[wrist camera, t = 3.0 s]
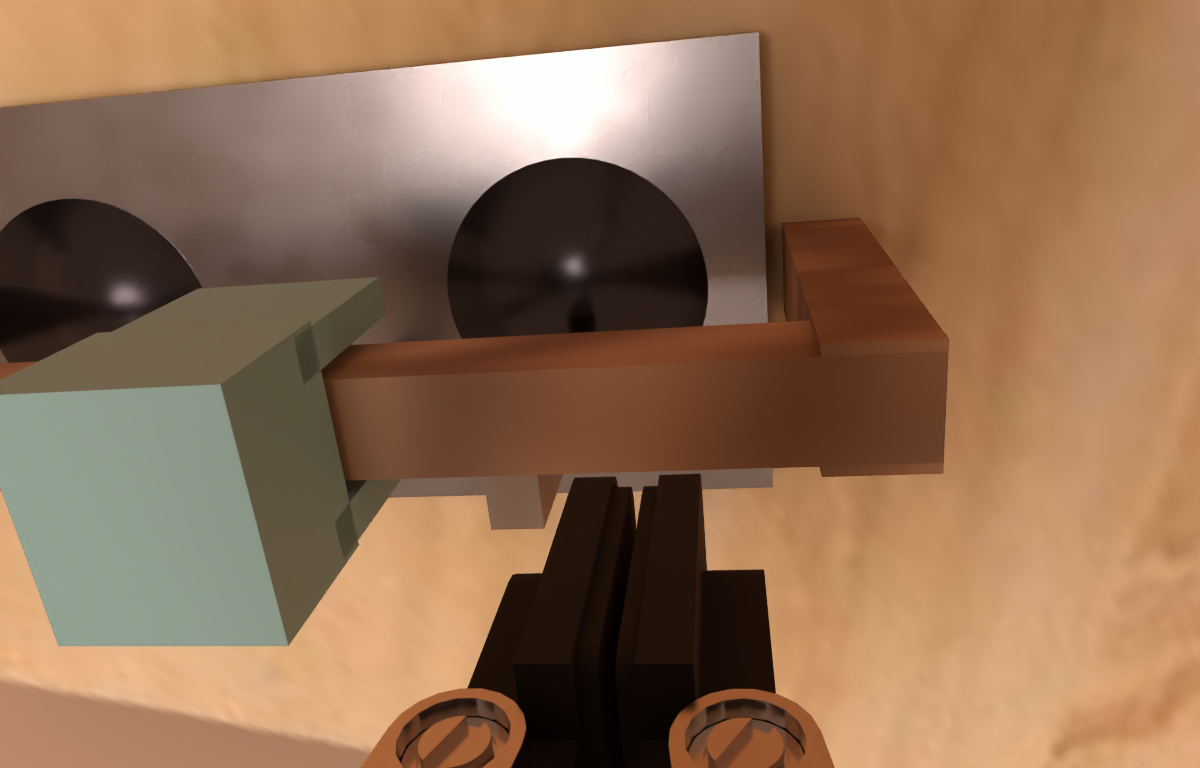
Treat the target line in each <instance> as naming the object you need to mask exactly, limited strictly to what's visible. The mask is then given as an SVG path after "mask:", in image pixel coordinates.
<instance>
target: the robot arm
mask: <svg viewBox="0 0 1200 768" xmlns="http://www.w3.org/2000/svg"><path fill="white" fill-rule="evenodd" d="M361 768H835V767H834V765H833V762H832V759H831V757H830V754H829V751H828V749H827V746H826V743H825V741H824V738H823V735H822V733H821V730H820V729H819V727H818V726H817V724H816V722H815V721H814V719H813V717H812V716H811V715H810V714H809V713H808V712H806V711H805V710H804V709H803V708H802V707H800V706H799V705H798V704H797V703H795V702H793V701H791V700H789V699H787V698H785V697H782V696H780V695H778V694H776V691H775V680H774V670H773V659H772V649H771V638H770V628H769V617H768V606H767V596H766V585H765V575H764V570H712V571H707V564H706V547H705V531H704V514H703V497H702V482H701V474H670V475H659V480H658V486H644V487H643V492H642V498H641V504H640V510H639V516H638V523H637V529H636V519H635V508H634V497H633V490H632V487H618V483H617V479H616V477H615V476H608V477H577V478H574V480H573V482H572V485H571V488H570V491H569V494H568V497H567V500H566V503H565V506H564V509H563V512H562V515H561V518H560V521H559V524H558V527H557V530H556V534H555V537H554V540H553V543H552V546H551V549H550V552H549V555H548V558H547V561H546V564H545V567H544V570H543V573H535V574H514V575H512V577H511V579H510V580H509V582H508V585H507V588H506V590H505V593H504V595H503V598H502V600H501V603H500V606H499V608H498V611H497V613H496V616H495V619H494V621H493V624H492V626H491V629H490V631H489V634H488V637H487V639H486V642H485V644H484V647H483V650H482V652H481V655H480V657H479V660H478V662H477V665H476V668H475V670H474V673H473V675H472V678H471V681H470V683H469V686H468V688H467V689H456V690H451V691H447V692H442V693H438V694H436V695H433V696H431V697H428V698H426V699H424V700H421V701H419V702H417V703H416V704H414V705H413V706H412V707H410V708H409V709H407V710H406V711H404V712H403V713H401V714H400V715H399V717H398V718H397V719H396V720H395V721H394V722H393V723H392V724H391V725H390V726H389V727H388V729H387V730H386V732H385V733H384V735H383V736H382V737H381V739H380V740H379V742H378V743H377V745H376V746H375V748H374V749H373V751H372V752H371V753H370V755H369V756H368V758H367V759H366V761H365V762H364V764H363V765H362V766H361Z"/></svg>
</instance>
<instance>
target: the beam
mask: <svg viewBox="0 0 1200 768" xmlns="http://www.w3.org/2000/svg"><path fill="white" fill-rule="evenodd" d="M782 239H783V281H784V312H785V316H786V321H787V322H772V323H753V324H734V325H715V326H696V327H678V328H659V329H640V330H621V331H602V332H584V333H565V334H546V335H527V336H508V337H490V338H471V339H452V340H433V341H414V342H396V343H377V344H358V345H350V346H348V347H347V348H346V349H345V350H344V351H343V352H341V353H340V354H339V355H338V356H337V357H336V358H334V359H333V360H332V361H331V362H330V363H329V364H327V365H326V366H325V367H324V368H323V369H322V370H321V372H322V377H323V382H324V386H325V391H326V396H327V400H328V405H329V409H330V414H331V419H332V423H333V428H334V433H335V437H336V442H337V446H338V451H339V456H340V460H341V465H342V470H343V474H344V479H345V481H351V480H385V479H418V478H452V477H483V478H484V485H485V491H486V498H487V504H488V510H489V517H490V523H491V530H495V529H543V528H545V525H546V522H547V519H548V516H549V513H550V511H551V508H552V505H553V502H554V499H555V496H556V493H557V491H558V488H559V485H560V482H561V479H562V476H563V474H586V473H620V472H653V471H687V470H720V469H754V468H787V467H820V471H821V475H822V477H836V476H872V475H907V474H943V463H944V440H945V417H946V394H947V371H948V348H949V338H948V337H947V336H946V334H945V333H944V332H943V330H942V329H941V328H940V326H939V325H938V323H937V322H936V321H935V319H934V318H933V317H932V315H931V314H930V313H929V311H928V310H927V309H926V307H925V306H924V304H923V303H922V302H921V300H920V299H919V298H918V296H917V295H916V294H915V292H914V291H913V290H912V288H911V287H910V285H909V284H908V283H907V281H906V280H905V279H904V277H903V276H902V275H901V273H900V272H899V271H898V269H897V268H896V266H895V265H894V264H893V262H892V261H891V260H890V258H889V257H888V256H887V254H886V253H885V251H884V250H883V249H882V247H881V246H880V245H879V243H878V242H877V241H876V239H875V238H874V237H873V235H872V234H871V232H870V231H869V230H868V228H867V227H866V226H865V224H864V223H863V222H862V220H861V219H860V218H854V219H840V220H825V221H811V222H796V223H782ZM34 363H36V362H20V363H1V364H0V380H1V379H3V378H6V377H8V376H10V375H12V374H14V373H16V372H18V371H20V370H22V369H24V368H26V367H28V366H30V365H32V364H34ZM0 491H1V488H0Z"/></svg>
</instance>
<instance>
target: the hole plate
mask: <svg viewBox="0 0 1200 768" xmlns="http://www.w3.org/2000/svg"><path fill="white" fill-rule="evenodd" d="M371 277H379V281H380V286H381V292H382V297H383V302H384V308H385V313H386V315H385V316H384V317H382V318H381V319H380V320H379V321H378V322H376V323H375V324H374V325H373V326H372V327H371V328H369V329H368V330H367V331H366V332H365V333H364V334H362V335H361V336H360V337H359V338H358V339H357V340H355V341H354V342H353V343H352V344H351V345H358V344H377V343H396V342H414V341H433V340H452V339H471V338H490V337H508V336H527V335H546V334H565V333H584V332H602V331H621V330H640V329H659V328H678V327H696V326H715V325H734V324H753V323H768V315H767V282H766V249H765V216H764V184H763V151H762V118H761V86H760V53H759V32H751V33H741V34H731V35H721V36H711V37H702V38H692V39H682V40H672V41H662V42H652V43H642V44H632V45H622V46H612V47H602V48H592V49H582V50H572V51H562V52H552V53H542V54H532V55H522V56H512V57H502V58H492V59H482V60H472V61H462V62H452V63H442V64H432V65H422V66H412V67H402V68H392V69H382V70H372V71H362V72H352V73H342V74H332V75H322V76H312V77H302V78H292V79H282V80H272V81H262V82H252V83H242V84H232V85H222V86H212V87H202V88H192V89H182V90H172V91H162V92H152V93H142V94H132V95H122V96H112V97H103V98H93V99H83V100H73V101H63V102H53V103H43V104H33V105H23V106H13V107H3V108H0V364H1V363H20V362H38V361H40V360H42V359H44V358H46V357H49V356H51V355H53V354H55V353H57V352H59V351H61V350H63V349H65V348H67V347H69V346H71V345H73V344H75V343H77V342H79V341H81V340H83V339H85V338H87V337H89V336H92V335H94V334H96V333H101V332H112V331H114V330H116V329H118V328H120V327H122V326H124V325H126V324H128V323H130V322H132V321H134V320H136V319H138V318H140V317H142V316H144V315H146V314H148V313H150V312H152V311H154V310H156V309H158V308H160V307H162V306H164V305H166V304H168V303H170V302H172V301H174V300H176V299H178V298H180V297H182V296H184V295H186V294H188V293H190V292H192V291H194V290H196V289H201V288H217V287H232V286H248V285H263V284H279V283H294V282H310V281H325V280H340V279H356V278H371ZM670 474H701V482H702V489H726V488H763V487H773V478H772V468H754V469H720V470H687V471H653V472H620V473H586V474H563V476H562V479H561V482H560V485H559V488H558V491H557V493H569V491H570V488H571V485H572V482H573V480H574V478H577V477H608V476H615V477H616V479H617V483H618V487H632V490H633V491H643V487H644V486H658V480H659V475H670ZM464 495H486V491H485V485H484V478H483V477H452V478H418V479H401V480H400V482H399V483H398V484H397V486H396V487H395V489H394V490H393V492H392V493H391V494H390V496H389V497H426V496H464ZM389 497H388V498H389Z"/></svg>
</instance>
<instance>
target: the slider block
mask: <svg viewBox="0 0 1200 768" xmlns="http://www.w3.org/2000/svg"><path fill="white" fill-rule="evenodd" d="M385 315H386V313H385V308H384V302H383V297H382V292H381V286H380V281H379V277H371V278H356V279H340V280H325V281H310V282H294V283H279V284H263V285H248V286H232V287H217V288H201V289H196V290H194V291H192V292H190V293H188V294H186V295H184V296H182V297H180V298H178V299H176V300H174V301H172V302H170V303H168V304H166V305H164V306H162V307H160V308H158V309H156V310H154V311H152V312H150V313H148V314H146V315H144V316H142V317H140V318H138V319H136V320H134V321H132V322H130V323H128V324H126V325H124V326H122V327H120V328H118V329H116V330H114V331H112V332H101V333H96V334H94V335H92V336H89V337H87V338H85V339H83V340H81V341H79V342H77V343H75V344H73V345H71V346H69V347H67V348H65V349H63V350H61V351H59V352H57V353H55V354H53V355H51V356H49V357H46V358H44V359H42V360H40V361H38V362H36V363H34V364H32V365H30V366H28V367H26V368H24V369H22V370H20V371H18V372H16V373H14V374H12V375H10V376H8V377H6V378H3V379H1V380H0V488H1V491H2V494H3V496H4V499H5V502H6V504H7V507H8V510H9V513H10V515H11V518H12V521H13V523H14V526H15V529H16V532H17V534H18V537H19V540H20V543H21V545H22V548H23V551H24V553H25V556H26V559H27V562H28V564H29V567H30V570H31V572H32V575H33V578H34V581H35V583H36V586H37V589H38V592H39V594H40V597H41V600H42V602H43V605H44V608H45V611H46V613H47V616H48V619H49V621H50V624H51V627H52V630H53V632H54V635H55V638H56V641H57V643H58V646H289V644H290V643H291V641H292V640H293V639H294V637H295V636H296V634H297V633H298V631H299V630H300V629H301V627H302V626H303V624H304V623H305V621H306V620H307V619H308V617H309V616H310V614H311V613H312V611H313V610H314V609H315V607H316V606H317V604H318V603H319V601H320V600H321V599H322V597H323V596H324V594H325V593H326V591H327V590H328V589H329V587H330V586H331V584H332V583H333V581H334V580H335V579H336V577H337V576H338V574H339V573H340V571H341V570H342V569H343V567H344V566H345V564H346V563H347V561H348V560H349V559H350V557H351V556H352V554H353V553H354V551H355V550H356V549H357V547H358V546H359V543H358V540H359V538H360V537H361V535H362V534H363V533H364V531H365V530H366V528H367V527H368V525H369V524H370V523H371V521H372V520H373V518H374V517H375V516H376V514H377V513H378V511H379V510H380V509H381V507H382V506H383V504H384V503H385V501H386V500H387V499H388V497H389V496H390V494H391V493H392V492H393V490H394V489H395V487H396V486H397V484H398V483H399V482H400V480H401V479H385V480H351V481H345V479H344V474H343V470H342V465H341V460H340V456H339V451H338V446H337V442H336V437H335V433H334V428H333V423H332V419H331V414H330V409H329V405H328V400H327V396H326V391H325V386H324V382H323V377H322V372H321V370H322V369H323V368H324V367H325V366H326V365H327V364H329V363H330V362H331V361H332V360H333V359H334V358H336V357H337V356H338V355H339V354H340V353H341V352H343V351H344V350H345V349H346V348H347V347H348V346H350V345H351V344H352V343H353V342H354V341H355V340H357V339H358V338H359V337H360V336H361V335H362V334H364V333H365V332H366V331H367V330H368V329H369V328H371V327H372V326H373V325H374V324H375V323H376V322H378V321H379V320H380V319H381V318H382V317H384V316H385Z"/></svg>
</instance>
